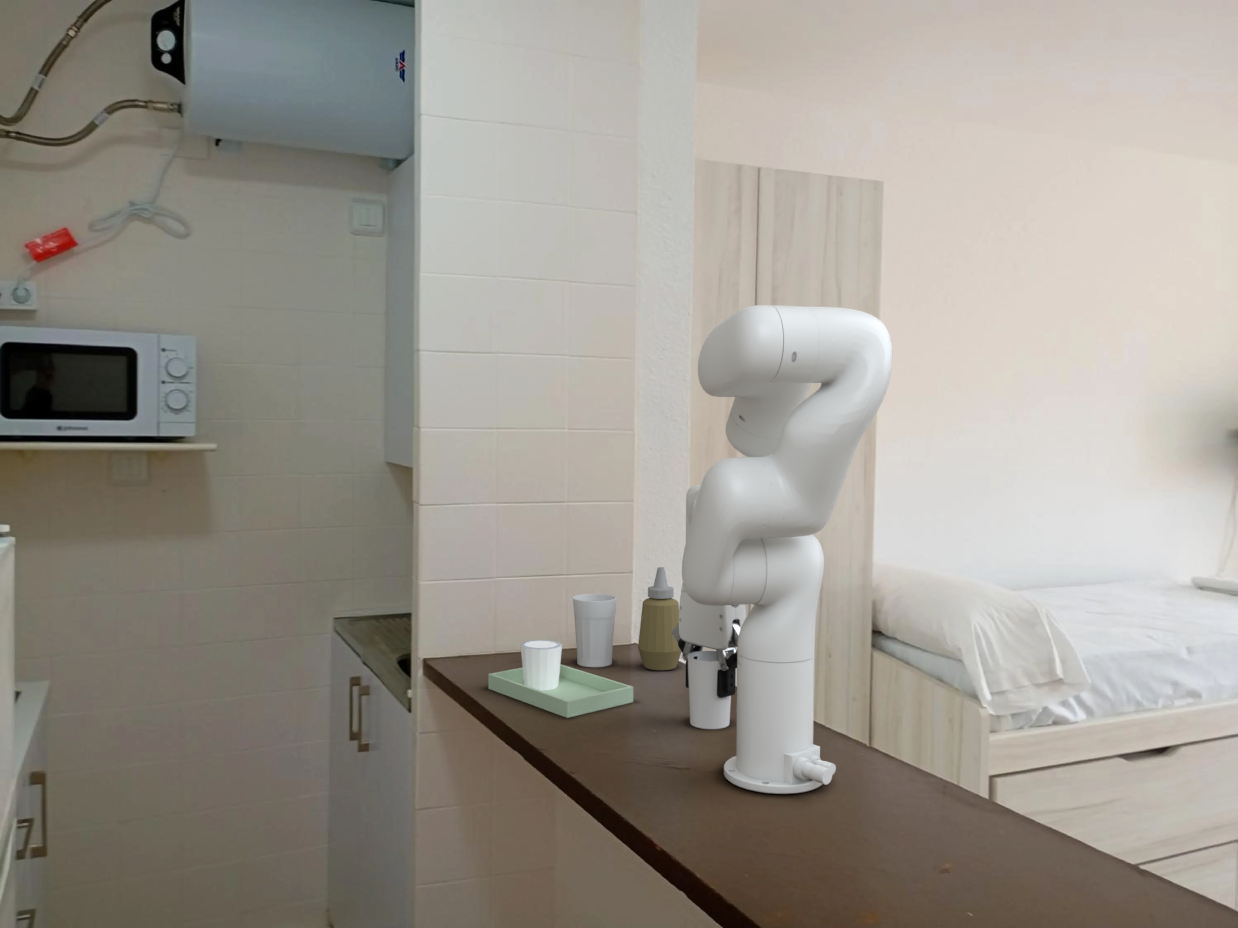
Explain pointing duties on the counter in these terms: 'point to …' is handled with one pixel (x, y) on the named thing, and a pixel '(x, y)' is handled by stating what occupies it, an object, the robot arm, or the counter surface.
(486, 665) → the counter surface
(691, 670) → the white tumbler
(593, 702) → the tray
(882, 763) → the counter surface
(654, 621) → the squeeze bottle
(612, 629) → the cup
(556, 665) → the white tapered cup
